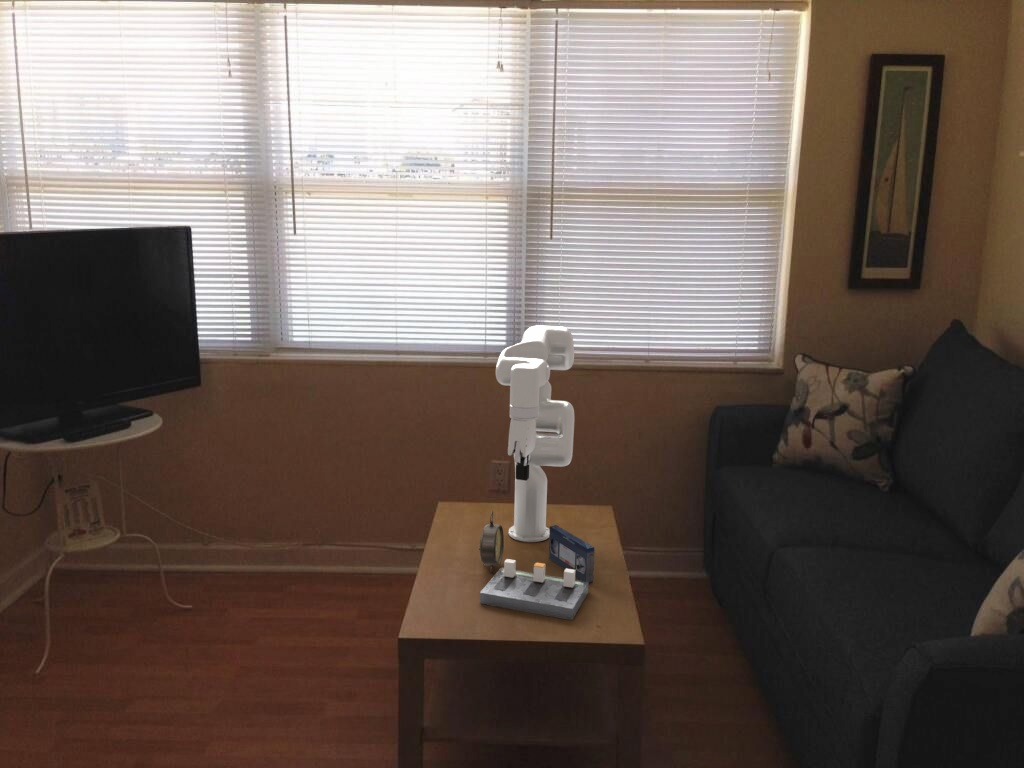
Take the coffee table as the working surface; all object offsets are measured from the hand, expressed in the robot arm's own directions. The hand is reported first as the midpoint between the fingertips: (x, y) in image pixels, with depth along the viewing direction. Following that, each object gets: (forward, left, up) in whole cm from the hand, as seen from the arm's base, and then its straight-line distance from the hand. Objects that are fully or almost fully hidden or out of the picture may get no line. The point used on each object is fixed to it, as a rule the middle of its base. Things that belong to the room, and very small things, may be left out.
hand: (522, 478), depth 240 cm
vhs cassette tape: (-8, +12, -28) cm, 31 cm away
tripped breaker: (+8, +8, -24) cm, 26 cm away
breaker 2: (+8, +16, -24) cm, 30 cm away
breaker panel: (+12, +8, -27) cm, 31 cm away
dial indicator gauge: (-2, -9, -27) cm, 29 cm away
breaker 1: (+9, 0, -24) cm, 25 cm away
